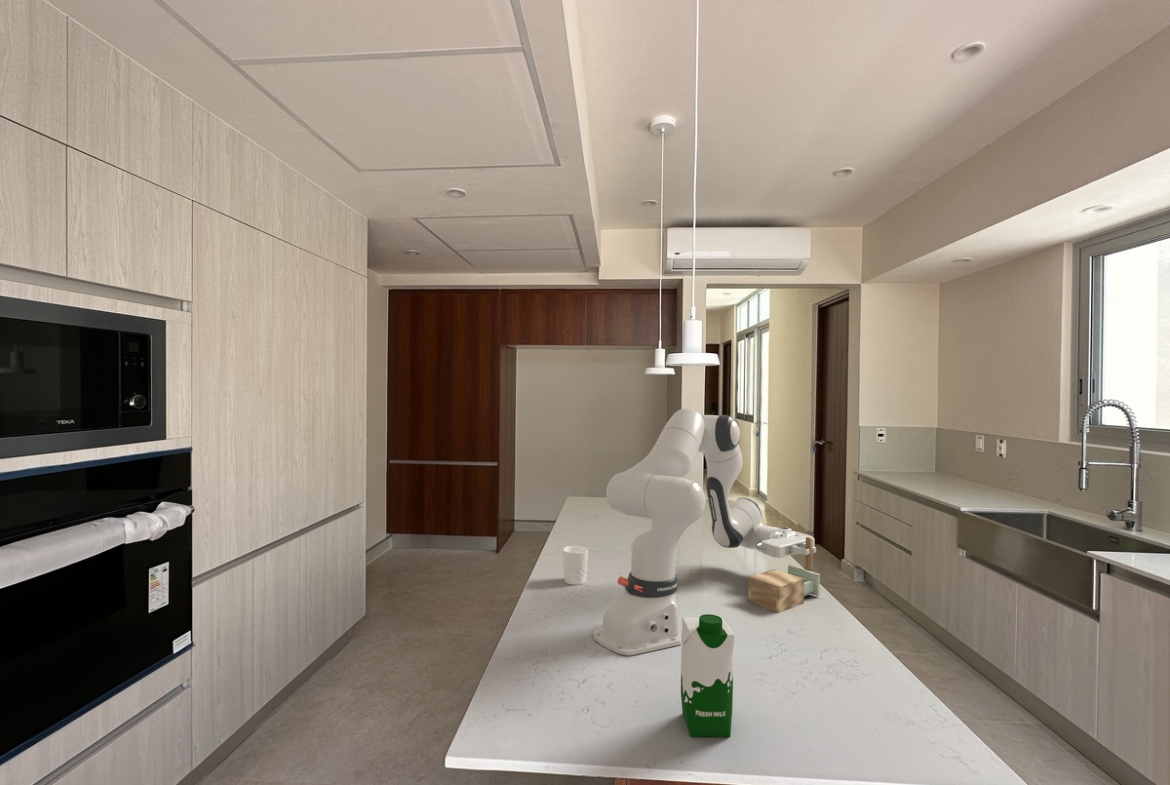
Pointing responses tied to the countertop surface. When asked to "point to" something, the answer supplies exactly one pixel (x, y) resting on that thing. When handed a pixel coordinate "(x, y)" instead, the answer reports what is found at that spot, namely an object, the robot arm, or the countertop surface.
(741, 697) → the countertop surface
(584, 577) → the white cup
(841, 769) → the countertop surface
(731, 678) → the milk carton
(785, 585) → the tan wooden block
